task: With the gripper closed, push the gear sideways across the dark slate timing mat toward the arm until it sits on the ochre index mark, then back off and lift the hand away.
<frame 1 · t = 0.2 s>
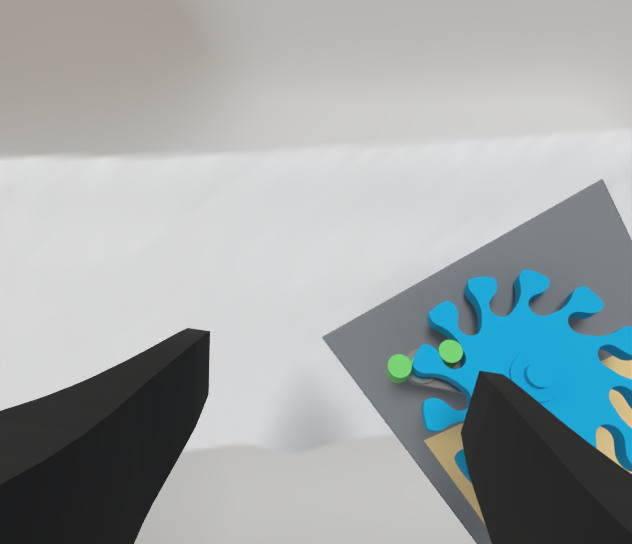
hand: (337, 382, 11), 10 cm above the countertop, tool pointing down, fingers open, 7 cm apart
gear: (490, 333, 22), on the countertop, touching timing mat
timing mat: (525, 391, 23), on the countertop
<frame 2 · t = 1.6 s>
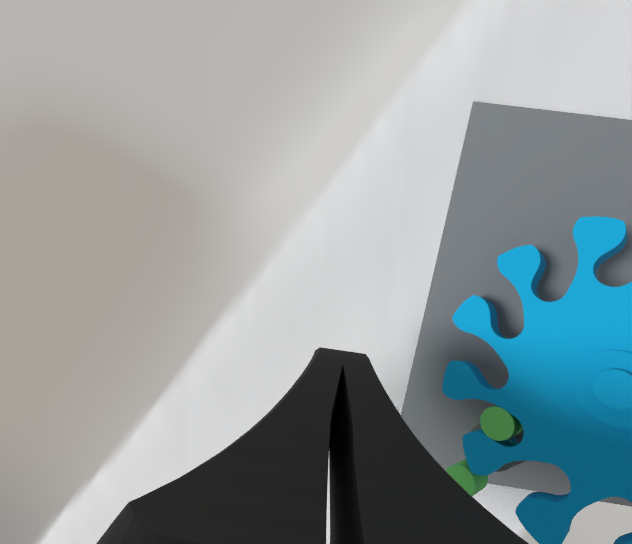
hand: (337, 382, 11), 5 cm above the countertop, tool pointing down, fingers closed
gear: (544, 331, 16), on the countertop, touching timing mat
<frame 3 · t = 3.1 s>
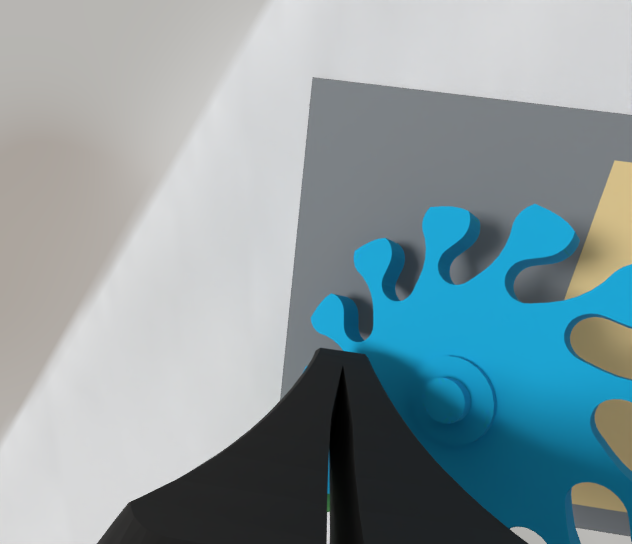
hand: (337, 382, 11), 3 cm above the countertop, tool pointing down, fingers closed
gear: (420, 333, 14), on the countertop, touching gripper, timing mat
timing mat: (546, 344, 14), on the countertop
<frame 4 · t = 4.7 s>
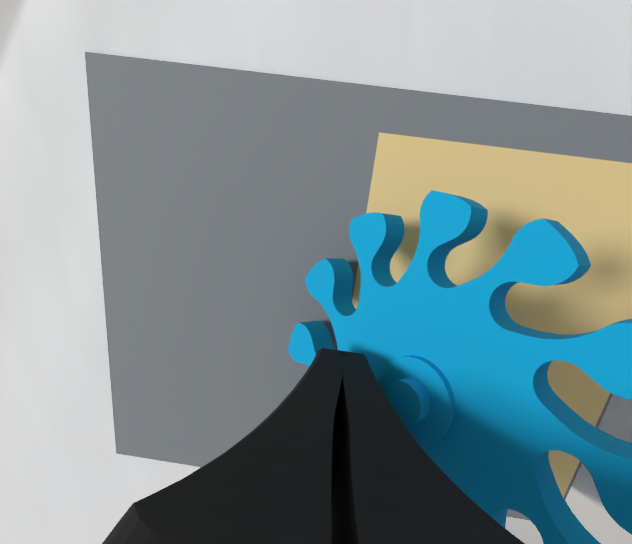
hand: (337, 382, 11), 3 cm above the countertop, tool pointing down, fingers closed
gear: (401, 333, 14), on the countertop, touching gripper, timing mat
timing mat: (357, 317, 15), on the countertop
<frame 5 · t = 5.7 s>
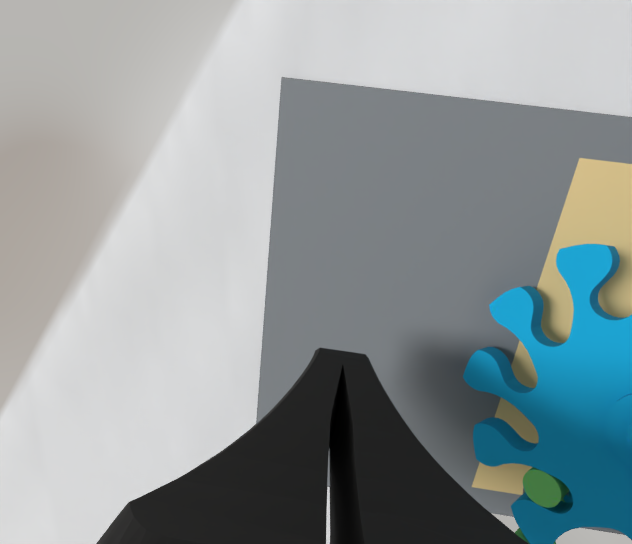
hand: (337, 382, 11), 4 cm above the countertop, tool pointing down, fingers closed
gear: (571, 358, 14), on the countertop, touching timing mat
timing mat: (519, 340, 15), on the countertop
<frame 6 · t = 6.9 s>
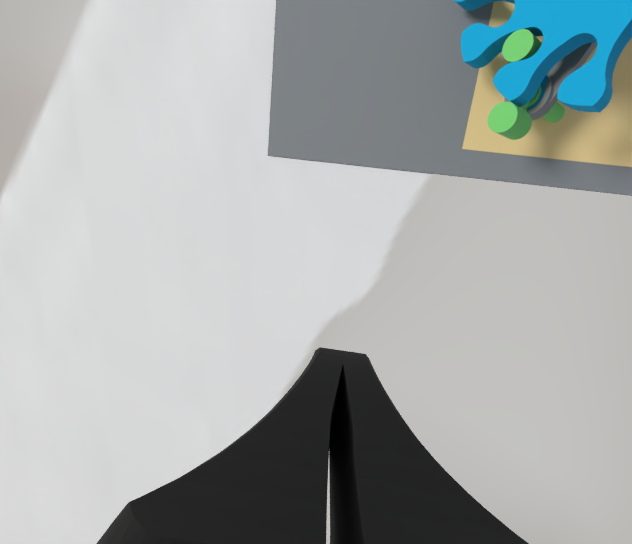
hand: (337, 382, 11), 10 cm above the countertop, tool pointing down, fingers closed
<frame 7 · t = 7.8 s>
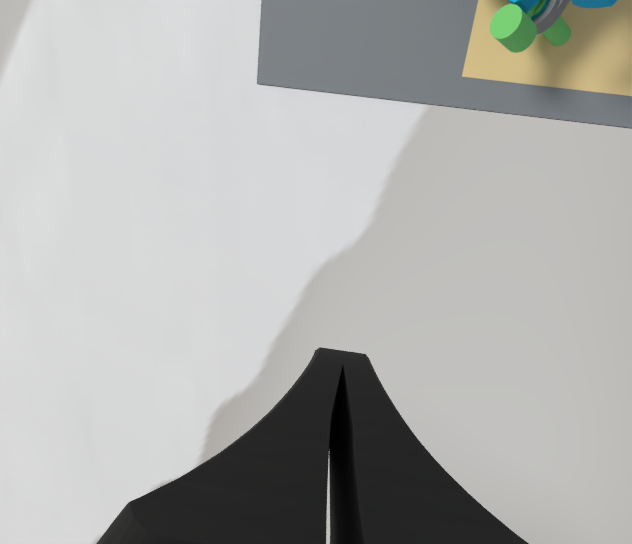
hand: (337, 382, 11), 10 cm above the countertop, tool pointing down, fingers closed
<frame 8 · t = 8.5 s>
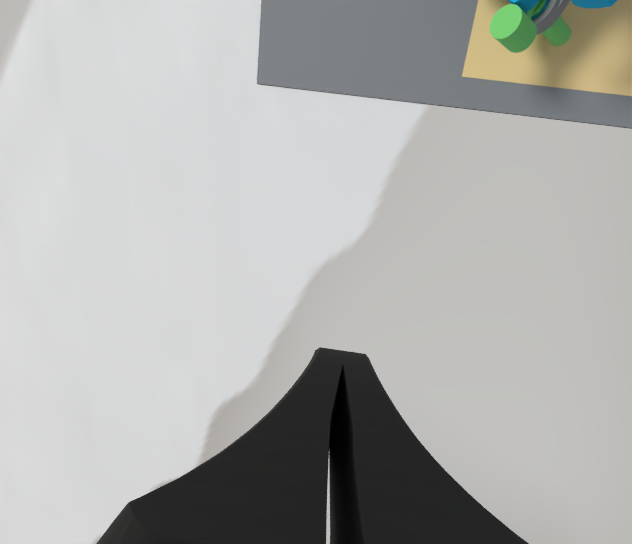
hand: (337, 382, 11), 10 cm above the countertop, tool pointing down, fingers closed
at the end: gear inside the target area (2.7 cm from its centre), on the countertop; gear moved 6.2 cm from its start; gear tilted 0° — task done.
